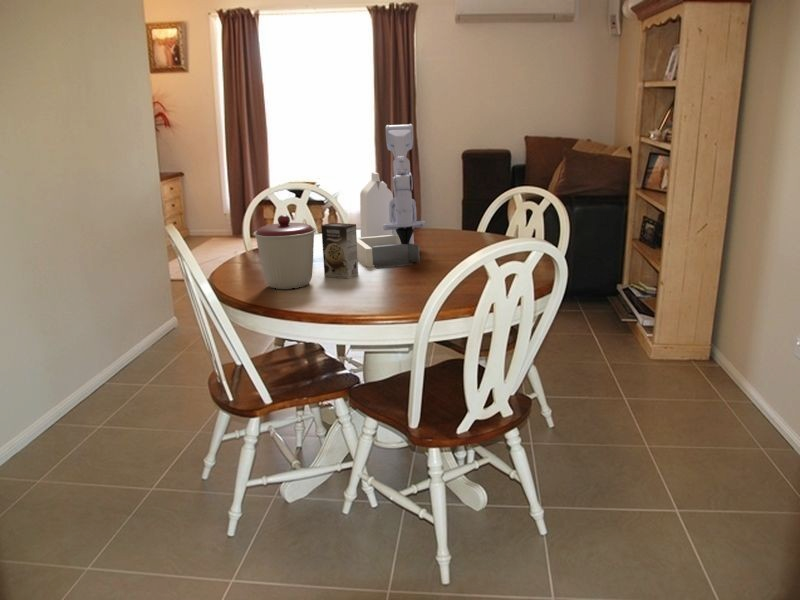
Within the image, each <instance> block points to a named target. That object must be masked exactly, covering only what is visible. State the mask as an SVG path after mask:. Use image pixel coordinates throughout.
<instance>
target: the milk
mask: <svg viewBox="0 0 800 600" xmlns="http://www.w3.org/2000/svg"><path fill="white" fill-rule="evenodd" d="M393 194H394V193H393V192H392V191H391V190H390V189H389V188H388V184H387V183H386V182H384V181H383V180H382V181H381V180H380V174H379V173H378V172H371V179H370V180H369V182H368V183H367V184H365V186H364V187H363V188H362V189H361V191H360V193H359V198H360V200H359V201H360V202H359V203H360V205H359V206H360V211H359V212H360V238H362V237H373V236H384V235H392V230H387V231H384V230H383V224H390V223H391V222H390V216H389V203H390V201H391V200H392V199H393V198H394V195H393Z"/></svg>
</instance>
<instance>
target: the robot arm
mask: <svg viewBox="0 0 800 600" xmlns="http://www.w3.org/2000/svg"><path fill="white" fill-rule="evenodd" d="M385 142H386V147H387V150H388V151H390V152H392V156H393V159H394V160H393V161H392V169H393V170H392V171H393V176H392V190H393V194H394V195H393V199H392V200H391V201H390V203H389V216H390V222H391V223H390V224H383V230H384V231H387V230H392V235H397V234H398V236H399V238H400V241H401V244H415V241H414V240H415V239H414V231H415V230H414V229H415V228H426V221H425V220H417V219H418V218H417V215H418V214H417V206H416V204H417V203H416V200H415V199H413V198H412V197H413V195H412V191H413V187H414V186H413V175H412V172H411V163H410V162H411V161H410V160H409V158H407V155H408V152H409V151H411V150H412V149H413V147H414V126H413V124H412V123H409V124H391V125H390V124H386V126H385Z"/></svg>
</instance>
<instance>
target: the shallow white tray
mask: <svg viewBox="0 0 800 600" xmlns="http://www.w3.org/2000/svg"><path fill="white" fill-rule="evenodd" d="M391 244H399V245H400V244H401V241H400V238H399V236H398V234H397V235H384V236H373V237H362V238H361V237H357V258H358V261H359V262H360V263H361V264H363V265H364V266H365V267H366V266H367V267H366V268H373V267H374V266H373V256H372V248H371V247H373V246H380V245H391Z"/></svg>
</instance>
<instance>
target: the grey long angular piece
mask: <svg viewBox="0 0 800 600" xmlns="http://www.w3.org/2000/svg"><path fill="white" fill-rule="evenodd" d="M371 248H372V256H373V265H374V266H373V267H375V268H376V269H384V268H385V269H386V267H387V268H394V267H395V268H396V266H397V267H405V266H406V265H407V266H413V263H414V262H416V263H417V264H419V263H420V262H421V261H420V260H421V258H420V257H421V255H420V244H416V243H414V244H400V245H389V246H378V247H371ZM416 263H415V264H416Z"/></svg>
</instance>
